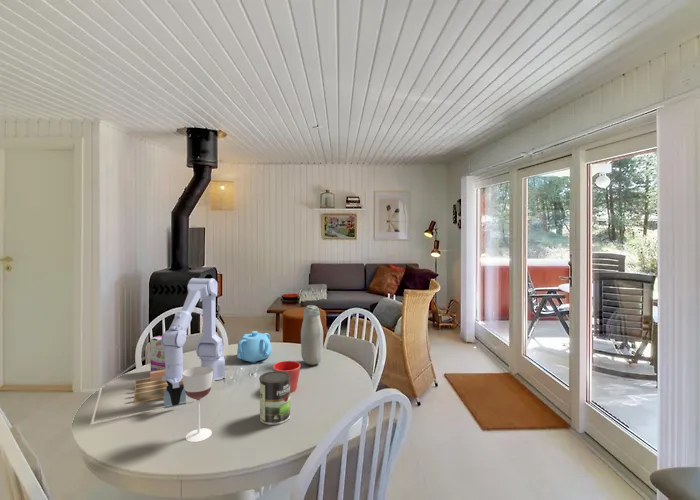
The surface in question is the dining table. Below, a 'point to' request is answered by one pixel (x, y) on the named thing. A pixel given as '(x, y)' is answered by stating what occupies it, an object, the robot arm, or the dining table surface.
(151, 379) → the salmon pink block
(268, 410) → the coffee can
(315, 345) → the grey bottle
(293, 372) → the flower pot
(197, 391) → the wineglass
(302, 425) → the dining table surface
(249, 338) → the decorative pot
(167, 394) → the slate plate
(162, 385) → the dish rack
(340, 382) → the dining table surface
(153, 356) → the candy bar box
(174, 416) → the dining table surface
